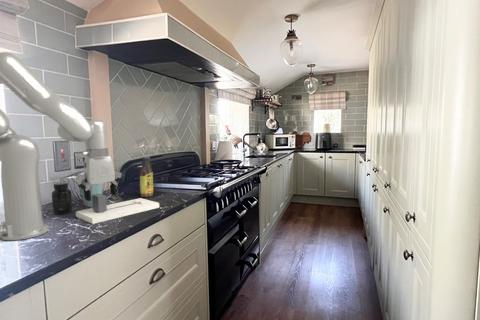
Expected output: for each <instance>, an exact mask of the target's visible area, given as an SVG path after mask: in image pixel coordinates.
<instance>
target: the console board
mask: <svg viewBox="0 0 480 320" xmlns="http://www.w3.org/2000/svg"><path fill="white" fill-rule="evenodd" d="M158 208H160V202H157V201H153V200H149V199H145V198H143V197H139V198H135V199H130V200H125V201H120V202H116V203H111V204H107V211H104V212H96V211H94V210H93V207H91V208H86V209H82V210H77V211H75V217H76V218H78V219H80V220H82V221H85V222H88V223H90V224H92V225H93V224H97V223H98V224H99V223H102V222H106V221H110V220H114V219H118V218H123V217H127V216H130V215H134V214H138V213H142V212H147V211H150V210H151V211H152V210H155V209H158Z"/></svg>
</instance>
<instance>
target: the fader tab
mask: <svg viewBox="0 0 480 320" xmlns="http://www.w3.org/2000/svg"><path fill="white" fill-rule="evenodd" d="M92 202H93V206H92V208H93V210H94V211H96V212H104V211H107V205H108V204H107V195H106V194H103V193H102V194H95V195H92Z"/></svg>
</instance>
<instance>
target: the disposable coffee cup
mask: <svg viewBox="0 0 480 320" xmlns="http://www.w3.org/2000/svg"><path fill="white" fill-rule="evenodd" d="M83 174H84V171H83V172H80V173H78V175H77V178H79V177H80V176H82V175H83ZM77 178H76V179H77ZM81 183H82V184H83V185H84V184H85V181H84V179H83V180H82V181H81ZM103 187H104V183H102V184H96V185H91V187H90V188H89V190H90V192H91V201H87V200H86V199H85V198H84V190H83V189H81V188H80V187H79V189H80V193H81V197H82V201H83V205H84V206H85V207H88V208H89V207H91V208H92V207H93V202H92V195H95V194H103V190H104V189H103Z"/></svg>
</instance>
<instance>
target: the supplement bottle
mask: <svg viewBox="0 0 480 320" xmlns="http://www.w3.org/2000/svg"><path fill="white" fill-rule="evenodd" d="M53 189H54V190H53V191H51V201H52V202H51V203H52V213H53V214H54V215H57V216H61V215H68V214H71V213H72V212H73V211H74V210H73V195H72V190H71V189H69V182H64V181H63V182H55V183H53Z"/></svg>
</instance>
